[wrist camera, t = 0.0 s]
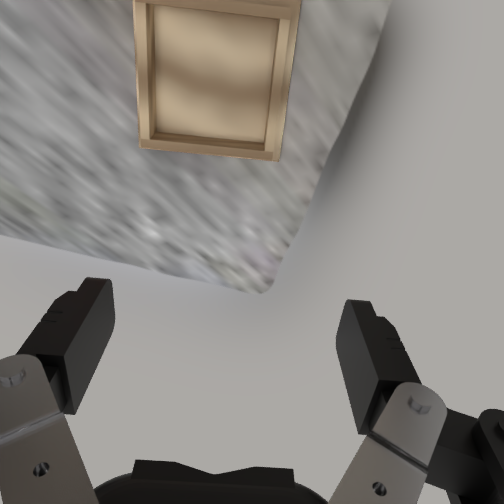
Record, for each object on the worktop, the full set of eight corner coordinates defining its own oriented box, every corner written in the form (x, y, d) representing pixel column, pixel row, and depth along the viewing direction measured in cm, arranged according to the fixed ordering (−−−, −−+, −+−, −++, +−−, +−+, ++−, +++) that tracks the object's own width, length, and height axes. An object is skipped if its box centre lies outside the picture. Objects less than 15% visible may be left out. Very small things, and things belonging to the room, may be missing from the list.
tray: (135, -22, 33) (121, -28, 29) (300, -2, 34) (305, -5, 30) (142, 144, 40) (130, 156, 36) (278, 158, 41) (280, 171, 37)
